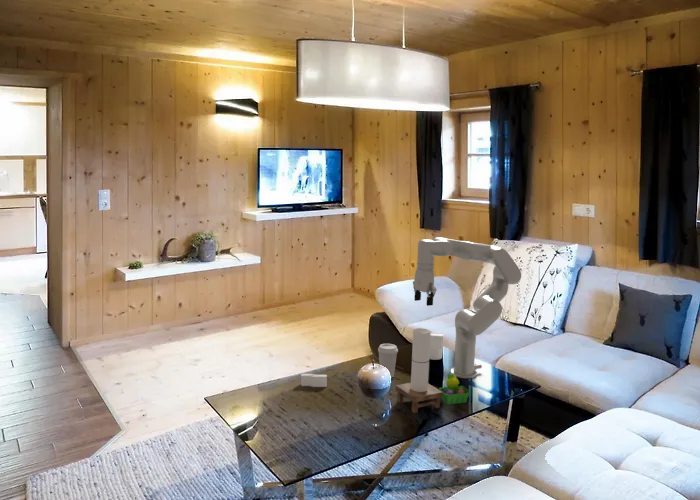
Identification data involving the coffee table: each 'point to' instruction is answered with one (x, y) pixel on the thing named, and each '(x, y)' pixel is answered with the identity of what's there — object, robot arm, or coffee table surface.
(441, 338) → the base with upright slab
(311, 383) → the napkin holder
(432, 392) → the stool
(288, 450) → the coffee table surface
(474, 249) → the robot arm
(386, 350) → the coffee cup
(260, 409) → the coffee table surface
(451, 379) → the fruit basket
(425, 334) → the cylindrical container
